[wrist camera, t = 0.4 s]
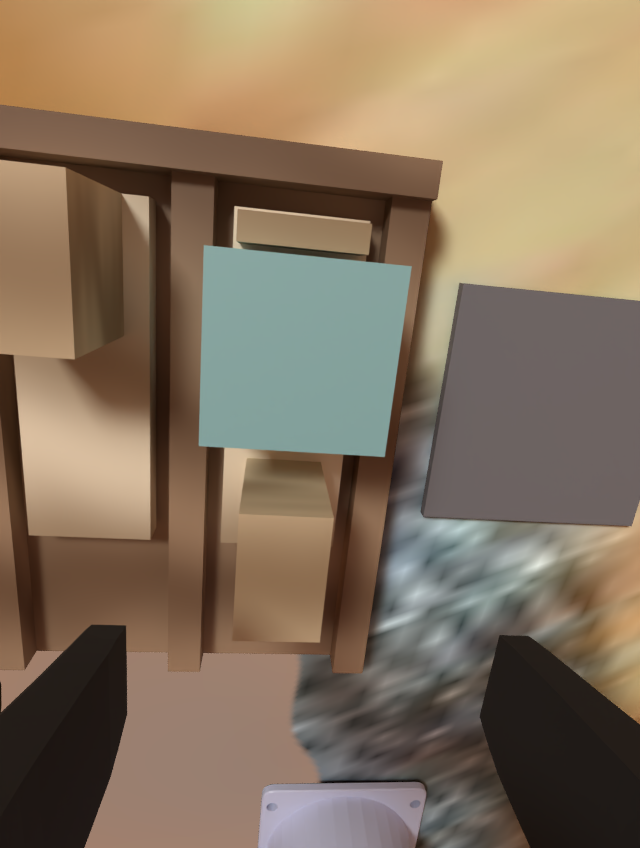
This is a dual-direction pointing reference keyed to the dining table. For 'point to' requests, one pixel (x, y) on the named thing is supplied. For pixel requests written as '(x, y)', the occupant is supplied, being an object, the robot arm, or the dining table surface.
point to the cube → (299, 351)
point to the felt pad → (538, 410)
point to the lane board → (180, 394)
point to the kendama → (0, 697)
